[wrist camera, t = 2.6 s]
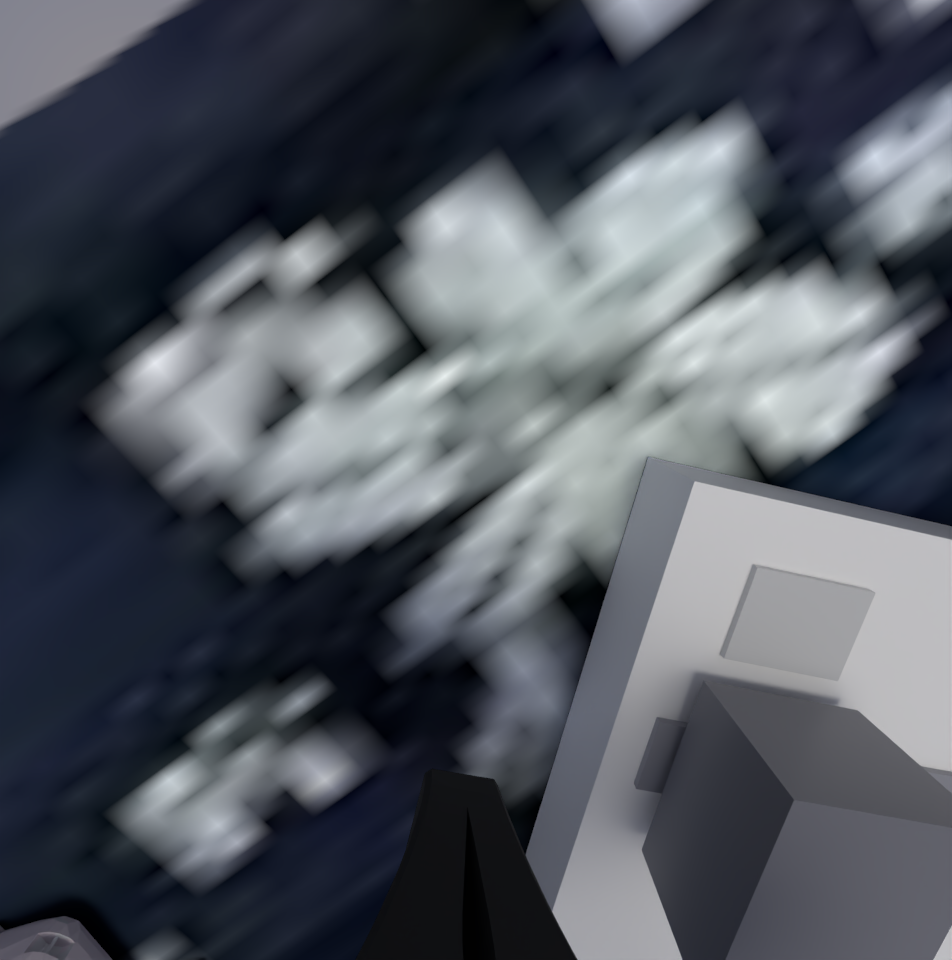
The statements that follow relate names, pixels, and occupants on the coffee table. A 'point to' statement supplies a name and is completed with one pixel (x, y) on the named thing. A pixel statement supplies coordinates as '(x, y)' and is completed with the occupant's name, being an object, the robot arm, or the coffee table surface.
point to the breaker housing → (732, 669)
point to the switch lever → (799, 836)
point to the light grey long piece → (50, 941)
